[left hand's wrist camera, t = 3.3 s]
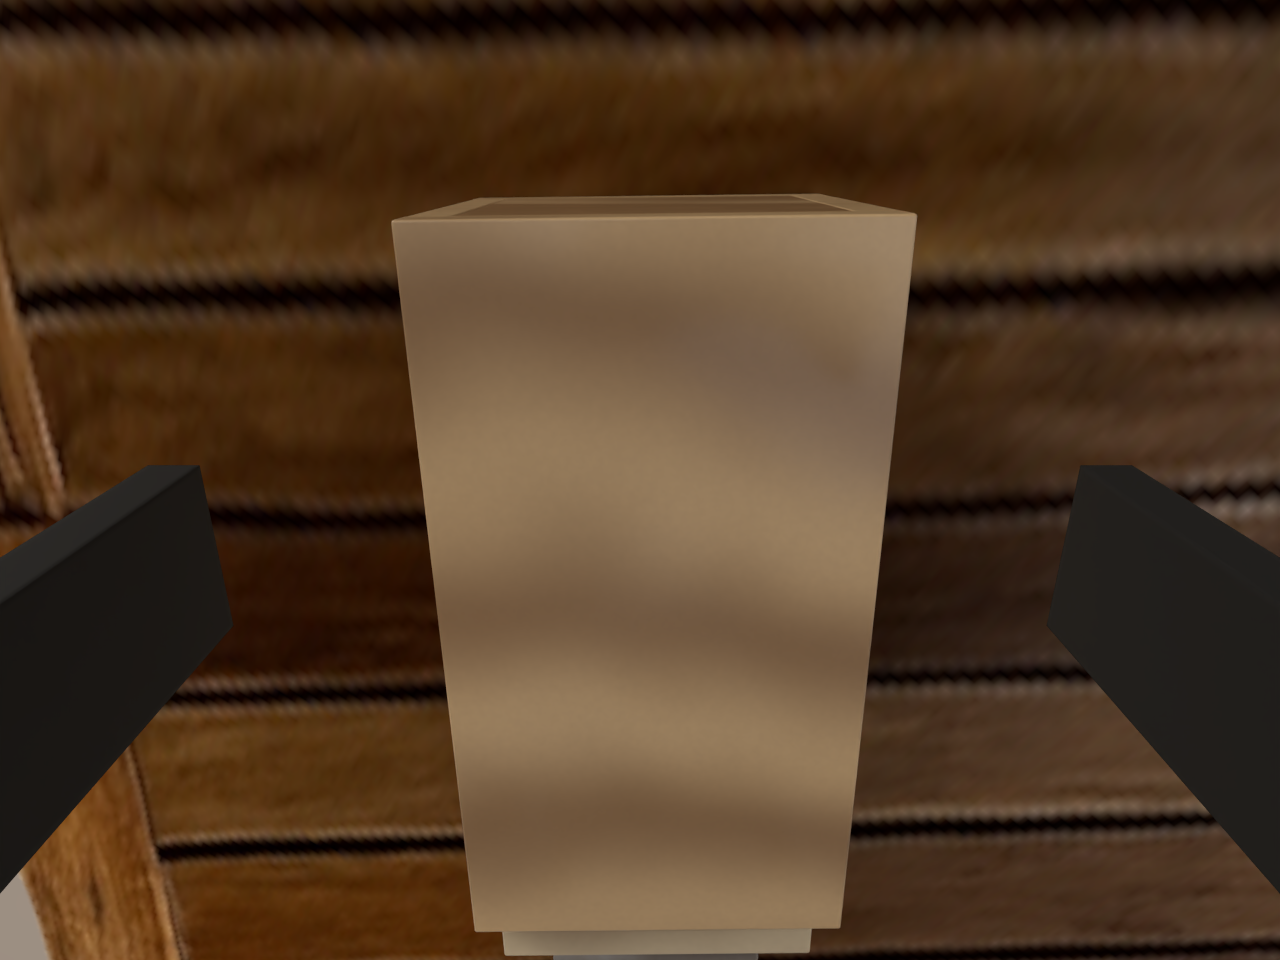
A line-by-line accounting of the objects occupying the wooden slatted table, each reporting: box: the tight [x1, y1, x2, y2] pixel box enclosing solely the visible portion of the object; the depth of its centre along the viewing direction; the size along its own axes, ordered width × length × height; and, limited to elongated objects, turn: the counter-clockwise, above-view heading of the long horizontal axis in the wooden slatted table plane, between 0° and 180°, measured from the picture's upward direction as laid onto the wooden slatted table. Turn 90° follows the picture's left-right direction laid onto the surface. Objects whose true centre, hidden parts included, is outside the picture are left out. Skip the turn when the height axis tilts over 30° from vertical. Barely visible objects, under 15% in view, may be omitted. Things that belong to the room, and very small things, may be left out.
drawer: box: [502, 929, 812, 960], centre depth 29 cm, size 26×10×8 cm, turn 1°
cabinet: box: [391, 194, 917, 932], centre depth 27 cm, size 21×12×10 cm, turn 1°
